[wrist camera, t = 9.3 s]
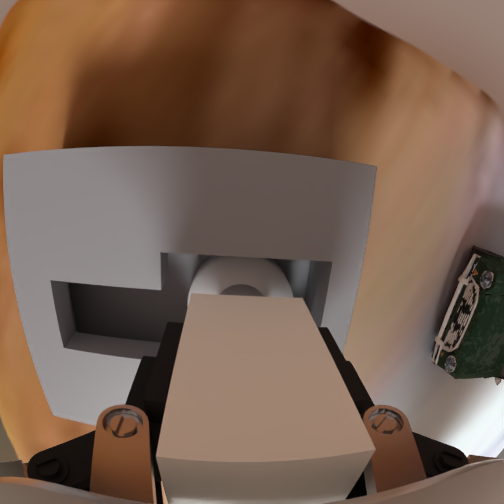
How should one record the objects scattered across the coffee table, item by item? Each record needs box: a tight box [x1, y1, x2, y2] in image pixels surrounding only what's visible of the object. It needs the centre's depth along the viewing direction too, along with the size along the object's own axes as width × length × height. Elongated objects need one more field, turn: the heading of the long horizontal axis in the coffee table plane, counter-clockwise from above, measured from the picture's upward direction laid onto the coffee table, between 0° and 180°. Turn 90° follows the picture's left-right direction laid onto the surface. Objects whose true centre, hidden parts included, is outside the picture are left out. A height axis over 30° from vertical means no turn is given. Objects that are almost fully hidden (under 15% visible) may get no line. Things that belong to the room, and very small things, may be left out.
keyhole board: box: [3, 146, 377, 426], centre depth 15 cm, size 15×14×6 cm
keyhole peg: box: [156, 255, 376, 504], centre depth 11 cm, size 5×5×12 cm
